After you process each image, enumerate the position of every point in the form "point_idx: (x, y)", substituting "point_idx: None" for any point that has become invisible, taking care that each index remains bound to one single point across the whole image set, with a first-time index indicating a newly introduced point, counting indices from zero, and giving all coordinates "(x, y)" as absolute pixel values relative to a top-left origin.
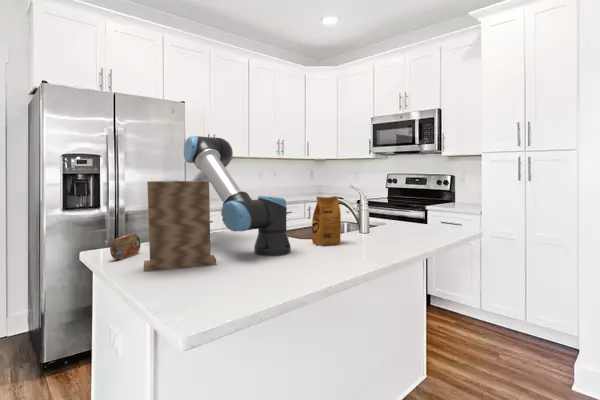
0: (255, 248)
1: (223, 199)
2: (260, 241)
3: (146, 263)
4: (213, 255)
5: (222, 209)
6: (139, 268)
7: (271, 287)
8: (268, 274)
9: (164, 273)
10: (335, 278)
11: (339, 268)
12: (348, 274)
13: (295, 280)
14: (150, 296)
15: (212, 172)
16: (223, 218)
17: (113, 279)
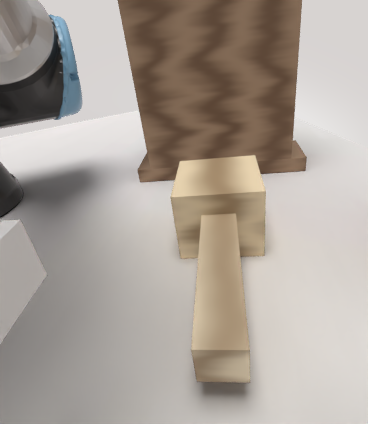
0: (12, 191)
1: (29, 11)
2: (1, 166)
3: (293, 146)
4: (139, 167)
5: (71, 45)
6: (312, 163)
7: (131, 120)
8: (105, 137)
9: None
10: (54, 129)
11: (11, 143)
12: (29, 134)
13: (94, 127)
14: None
15: None
16: (78, 78)
17: (338, 135)
